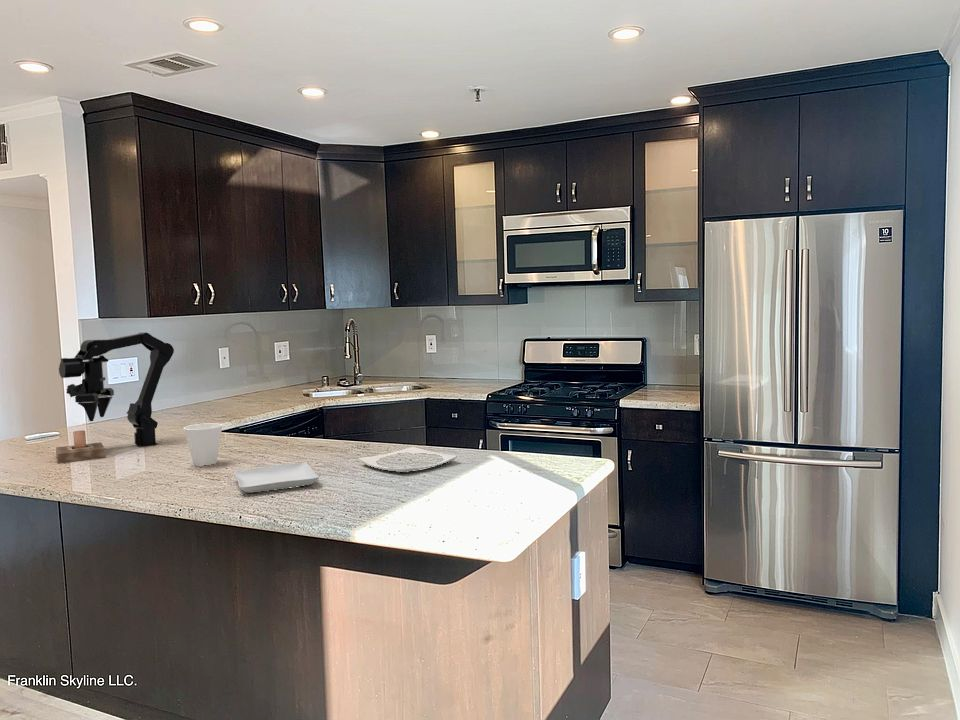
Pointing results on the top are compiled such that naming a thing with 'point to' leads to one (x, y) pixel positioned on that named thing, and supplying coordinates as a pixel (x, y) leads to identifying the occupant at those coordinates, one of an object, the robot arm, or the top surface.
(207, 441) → the cup
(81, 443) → the peg
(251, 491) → the salad plate
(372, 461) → the plate
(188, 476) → the top surface
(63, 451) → the socket block
